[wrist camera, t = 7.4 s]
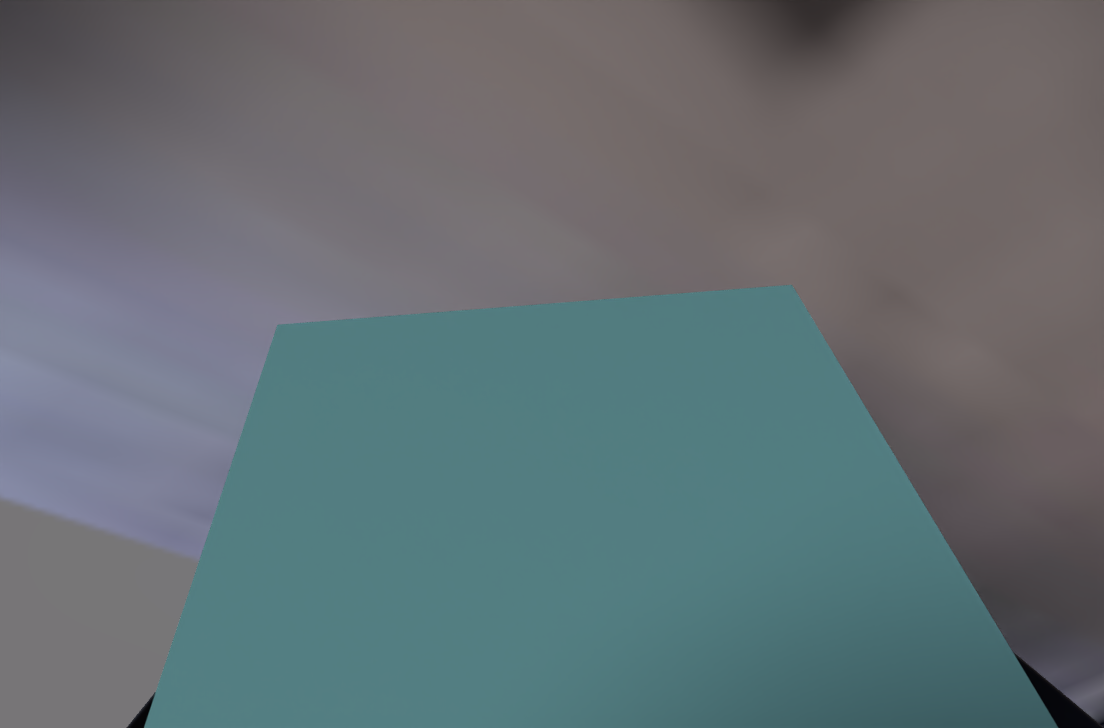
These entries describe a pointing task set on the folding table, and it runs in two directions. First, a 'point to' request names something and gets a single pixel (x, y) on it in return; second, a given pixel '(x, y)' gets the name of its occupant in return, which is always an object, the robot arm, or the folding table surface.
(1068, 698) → the robot arm
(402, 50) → the folding table surface
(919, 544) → the teal block
